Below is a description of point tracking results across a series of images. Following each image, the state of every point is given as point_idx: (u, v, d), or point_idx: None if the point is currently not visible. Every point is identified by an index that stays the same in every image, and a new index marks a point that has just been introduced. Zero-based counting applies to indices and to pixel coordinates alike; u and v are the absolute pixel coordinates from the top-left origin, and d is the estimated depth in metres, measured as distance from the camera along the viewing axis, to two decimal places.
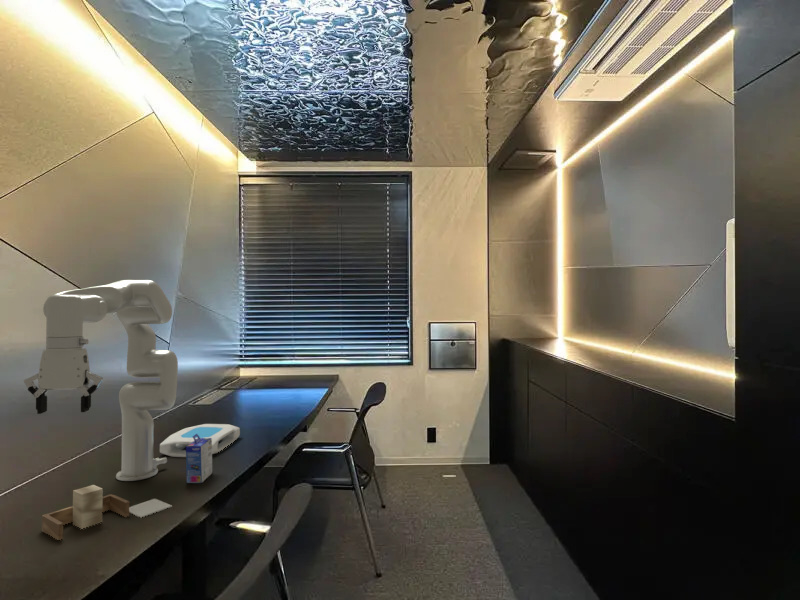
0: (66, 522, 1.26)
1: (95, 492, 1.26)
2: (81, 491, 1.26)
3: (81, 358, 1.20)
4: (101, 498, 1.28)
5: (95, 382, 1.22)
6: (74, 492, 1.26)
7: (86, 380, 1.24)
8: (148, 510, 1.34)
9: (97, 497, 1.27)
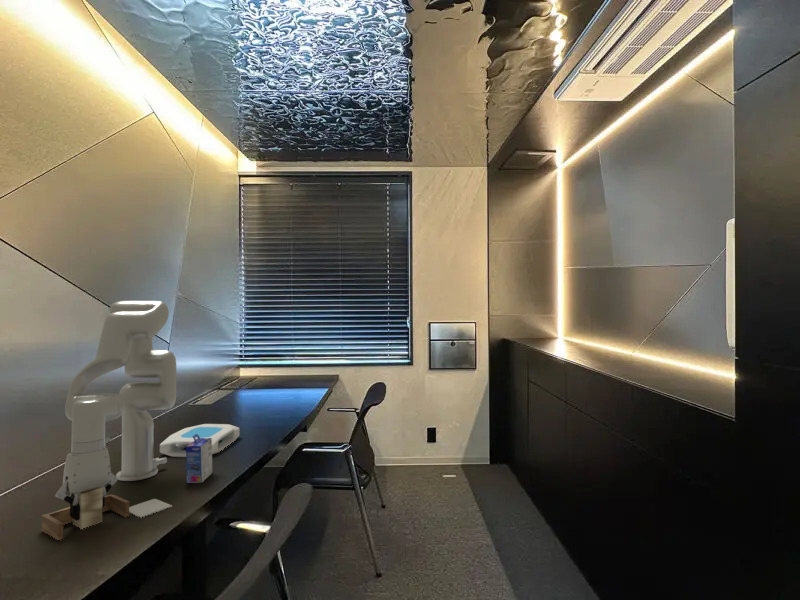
0: (66, 522, 1.26)
1: (95, 492, 1.26)
2: None
3: None
4: (101, 498, 1.28)
5: (112, 482, 1.32)
6: None
7: None
8: (148, 510, 1.34)
9: (97, 497, 1.27)
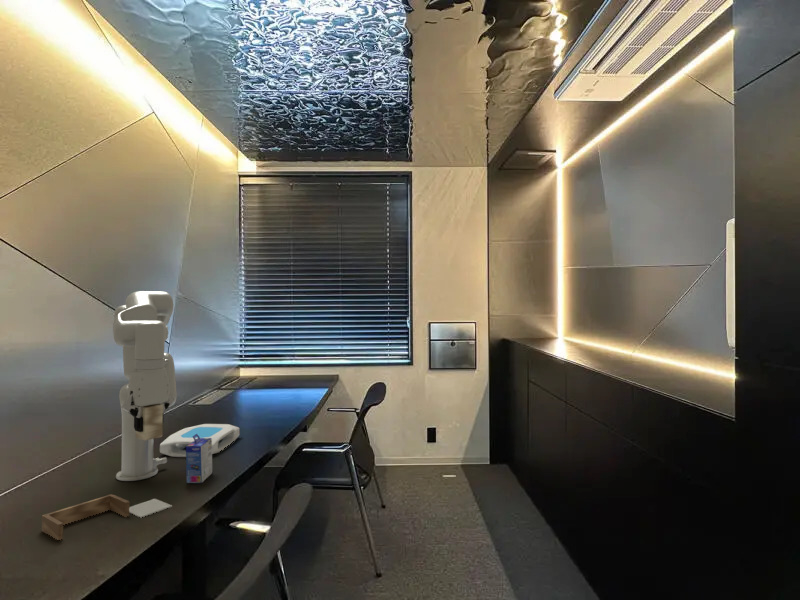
0: (66, 522, 1.26)
1: (156, 407, 1.36)
2: None
3: (167, 376, 1.40)
4: (161, 414, 1.37)
5: (169, 401, 1.42)
6: None
7: None
8: (148, 510, 1.34)
9: (158, 412, 1.37)
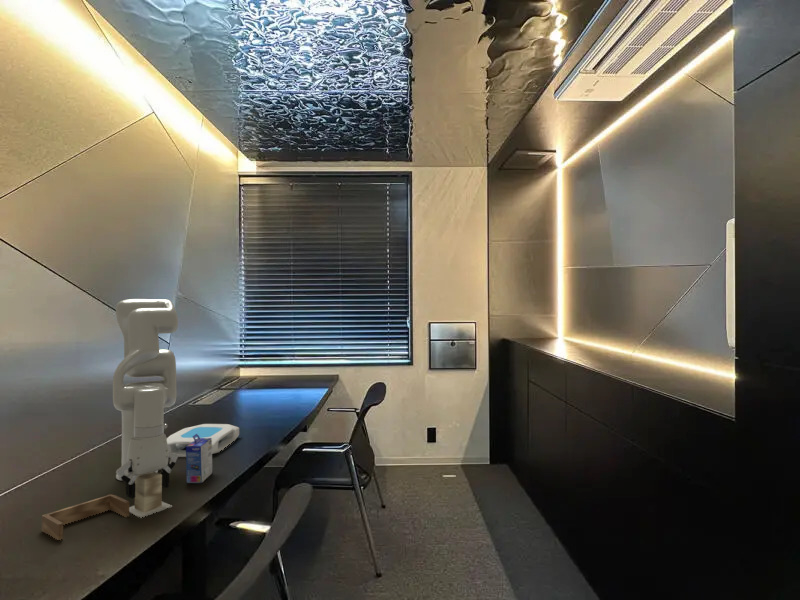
0: (66, 522, 1.26)
1: (156, 477, 1.36)
2: (142, 477, 1.35)
3: (166, 441, 1.40)
4: (160, 483, 1.37)
5: (174, 459, 1.43)
6: (136, 478, 1.36)
7: None
8: None
9: (157, 482, 1.36)
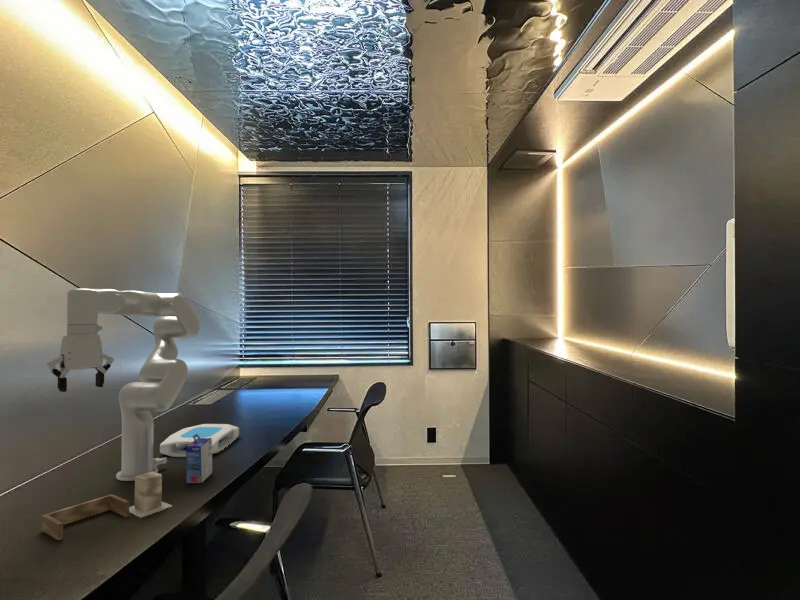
0: (66, 522, 1.26)
1: (156, 477, 1.36)
2: (142, 477, 1.35)
3: None
4: (160, 483, 1.37)
5: (109, 361, 1.47)
6: (136, 478, 1.36)
7: None
8: None
9: (157, 482, 1.36)
